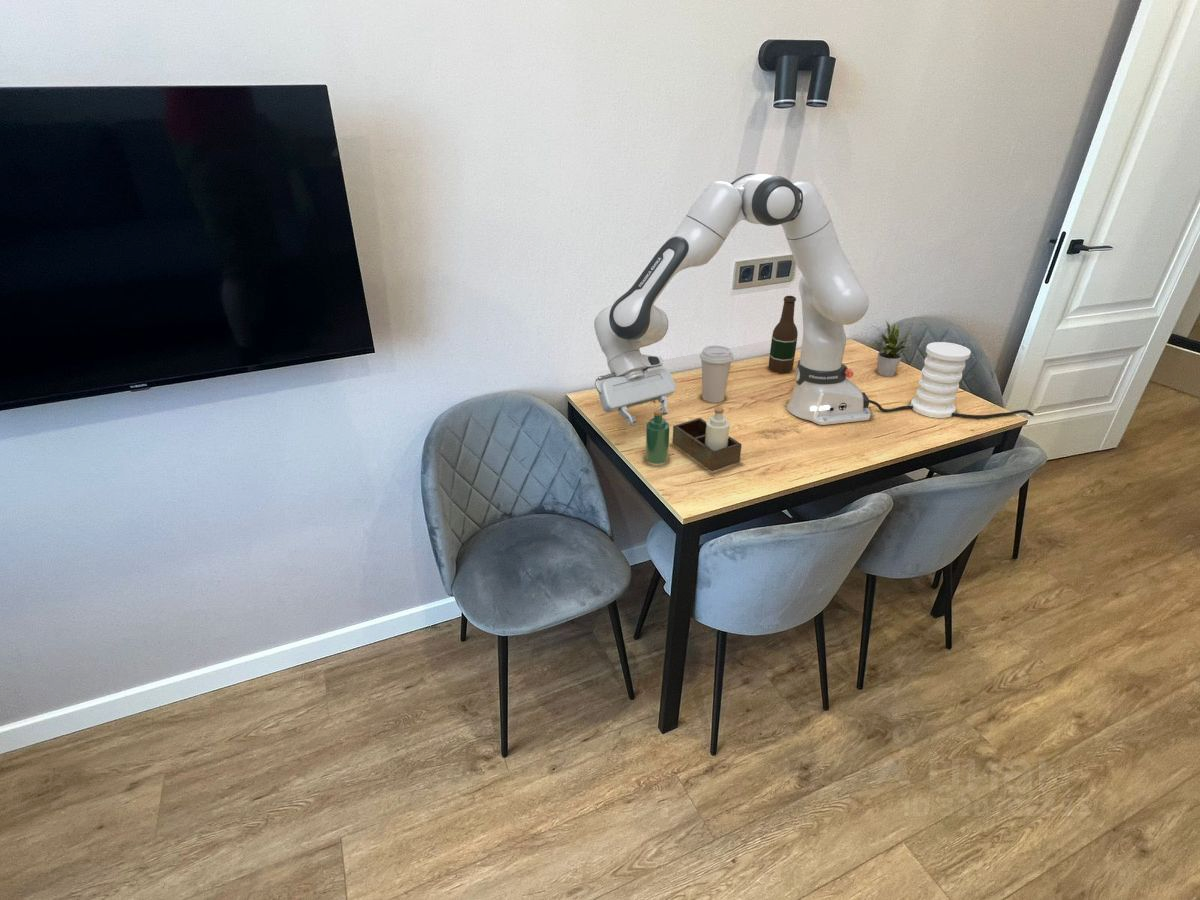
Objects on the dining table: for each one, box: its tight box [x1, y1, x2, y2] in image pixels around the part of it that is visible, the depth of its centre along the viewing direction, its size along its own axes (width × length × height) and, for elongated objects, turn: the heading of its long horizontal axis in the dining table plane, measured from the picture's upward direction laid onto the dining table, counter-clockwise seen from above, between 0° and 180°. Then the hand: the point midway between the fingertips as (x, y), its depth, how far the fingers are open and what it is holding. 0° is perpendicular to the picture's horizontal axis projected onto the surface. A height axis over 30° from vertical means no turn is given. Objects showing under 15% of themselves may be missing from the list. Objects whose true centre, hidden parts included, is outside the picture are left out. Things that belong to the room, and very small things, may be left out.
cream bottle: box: [705, 406, 731, 451], centre depth 155 cm, size 6×6×14 cm
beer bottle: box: [768, 295, 799, 375], centre depth 203 cm, size 8×8×24 cm
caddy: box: [672, 417, 743, 472], centre depth 161 cm, size 16×9×6 cm, turn 30°
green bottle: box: [645, 408, 670, 465], centre depth 157 cm, size 6×6×14 cm
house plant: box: [870, 320, 918, 377], centre depth 202 cm, size 14×14×16 cm
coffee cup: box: [699, 345, 734, 404], centre depth 187 cm, size 10×10×15 cm
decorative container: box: [909, 341, 972, 419], centre depth 178 cm, size 12×12×18 cm
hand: (649, 419), depth 158 cm, fingers open, 8 cm apart
